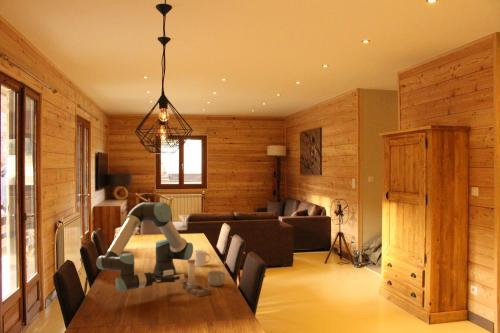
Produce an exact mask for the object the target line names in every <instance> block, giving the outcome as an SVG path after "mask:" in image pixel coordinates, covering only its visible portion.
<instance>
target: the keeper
mask: <svg viewBox="0 0 500 333" xmlns="http://www.w3.org/2000/svg"><path fill="white" fill-rule="evenodd" d="M187 270H188V271H187V273H188V275H187V276H188V277H187V281H188V283H186V285H187V286H189V287H191V288H196V287H198V285H199V283H197V282H196V266H195V260H194V259H189V260H187Z"/></svg>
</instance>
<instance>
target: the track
mask: <svg viewBox="0 0 500 333" xmlns="http://www.w3.org/2000/svg"><path fill="white" fill-rule="evenodd" d="M186 283H188V280H185V281H181V288H182V290H184V291H186V292H189V293H191V294H193V295H195V296H197V297H202V296H207V295H211V294H212V290H211V289H210V288H207V287H206V286H203V285H201V284H198V287H196V288H191V287H189V286H187V285H186Z"/></svg>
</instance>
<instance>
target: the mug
mask: <svg viewBox="0 0 500 333" xmlns="http://www.w3.org/2000/svg"><path fill="white" fill-rule="evenodd" d="M193 254H194V257H193V258H194V259H193V260H195V267H199V268H200V267H205V266H206V265H207V264H209V263H210V261H211V259H212V257H211V254H209V253H208V252H207V250H204V249H197V250H193ZM207 256H208V257H209V260H207Z"/></svg>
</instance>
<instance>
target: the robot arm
mask: <svg viewBox="0 0 500 333" xmlns="http://www.w3.org/2000/svg"><path fill="white" fill-rule="evenodd" d="M172 213H173V212H172V208H171V206H170V204H169V203H166V202H162V201H161V202H160V201H157V202H154V201H153V202H152V201H151V202H149V201H145V202H140V203H138V204H136V205H135V206H134V207H132V209H131V210H130V211H129V212H128V213H127V215H126V216H125V221H124V223H123V225H122V227H121V228H120V229H119V231H118V233H117V235H116V236H115V237H114V239H113V241H112V243H111V244H110V246H109V248H108V249H107V251H106V253H105V254H104V255H102V254H101V255H99V256H98V257H97V259H96V262H95V263H96V267H97V268H98V269H99V270H104V271H105V270H106V271H116V272H119V276H118V277H115V281H114V283H115V284H114V285H115V289H116V291H118V292H124V291H130V290H134V289H142V288H146V287H151V286H152V285H153V284H154V283H156V284H162V283H163V284H164V283H175V281H179V280H180V281H181V280H184V279H185V274H184V273H183V274H176V273H177V272H176V267H175V264H174V260H180V261H188V260H191V258H192V256H193V254H194V244H193V243H192V242H187V240H186V239H185V238H184V237H182V236H181V234H180V233H179V231H178V229H177V228H176V226H175V225H174V223H173V222H172V219H171V218H172V215H173V214H172ZM143 222H152V224H153V225H154V226H155V227H157V228H158V229H159V230H160V232H161V233H162V235H163V236H164V238H165V239H161V240H158V241H156V243H155V264H154V266H153V270H152V271H153V272H151V271H150V272H143V273H136V274H135V255H134V254H133V253H130V252H127V253H126V252H125V253H123V252H124V250H125V248H126V246H127V244H128V243H129V241H130V240H131V238H132V236H133V234H134V232H135V231H136V229H137V227H139V226H141V225H142V223H143ZM175 274H176V275H175Z"/></svg>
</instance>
